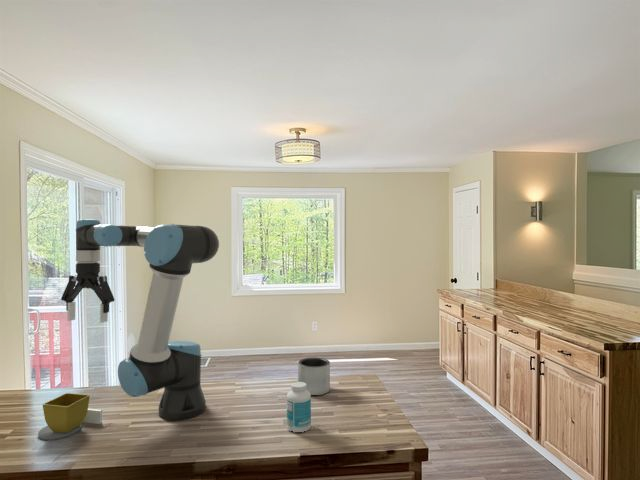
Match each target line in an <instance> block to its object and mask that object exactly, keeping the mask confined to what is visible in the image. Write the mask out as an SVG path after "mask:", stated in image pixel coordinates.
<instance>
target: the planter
mask: <svg viewBox="0 0 640 480" xmlns="http://www.w3.org/2000/svg"><path fill="white" fill-rule="evenodd" d="M330 367H331V363H330V361H329V360H328V359H326V358H324V357H323V358H322V357H305V358H301V359H300V360H299V361H298V362H297V382H304V383H306V390H307V391H309V392H310V394H311V395H319V396H323V395H325V393H326V394H327V393H329V392H330V389H331V368H330Z"/></svg>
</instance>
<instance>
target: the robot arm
mask: <svg viewBox="0 0 640 480" xmlns="http://www.w3.org/2000/svg"><path fill="white" fill-rule="evenodd" d="M101 247H140V248H142V247H143V252H145V253H144V257H145V259H146V261H147V262H148V263H149V264H148V265H149V266H148V267H149V269H150V270H151V271H152V272H153V273H152V278H151V282H150V287H149V292H148V296H147V299H146V300H147V301H146V305H145V310H144V314H143V318H142V323H141V328H140V332H139V337H138V341H137V343H136V344H135V345H133V346H132V347H131V349H130V353H129V357H128V358H124V359H123V360H121V361H120V362H119V364H118V366H117V378H118V382H119V384H120V387H121V389H122V390H123V392H124V393H125V394H127V396H129V397H132V398H137V397H140V396H141V397H142V396H146V395H148V394H150V393H153V392H154V391H158V390H161V389H163V388H164V389H163V392H162V395H161V398H160V401H159V405H158V416H159V417H160V418H162V419H164V420H169V421H171V420H172V421H173V420H175V421H178V420H186V419H190V418H193V417H196V416H199V415H200V414H202V413H203V412H204V411H205V410H206V406H207V405H206V398H205V396H204V391H203V389H202V386H201V369H202V368H201V366H202V363H201V362H202V354H201V353H202V352H201V345H200V344H198V343H197V342H195V341H194V342H193V341H187V340H184V341H183V340H174V341H173V340H172V341H170V336H171V332H172V329H173V324H174V320H175V315H176V311H177V307H178V303H179V298H180V294H181V290H182V285H183V281H184V278H185V277H186V276H188V275H189V274H190V273H191V270H192V266H193V264H203V263H205V262H208V261H211V260H212V259H213V258H214V257H215V256H216V255H217V254H218V251H219V248H220V241H219V238H218V236H217V234H216V233H215V232H214V230H213V229H211V228H210V227H207V226H203V225H188V224H187V225H186V224H175V223H169V224H159V225H156V226H155V227H152V226H146V225H124V224H123V225H122V224H121V225H118V224H113V223H111V224H110V223H104V224H101V222H100V220H99V219H87V218H86V219H84V218H83V219H78V220H77V221H76V227H75V261H76V264H75V273H76V274H73V275H69V277H68V282H67V284H66V286H65V289H64V291H63V294H62V296H61V299H60V301H62V302H63V301H64V302H65V303H66V305H65V306H66V308H65V309H66V311H67V322H71V321H74V320H75V321H76V301H75V299H76V298H77V297H78V296H79V294H80V293H81V291H82V290H83V289H91V290H92V291H93V292H94V293H95V295H96V296H97V297H98V299H99V300H100V302H101V303H100V304H99V305H100V309H99V310H100V311H99V315H100V317H99V322H100V323H105V322H108V321H109V320H108V318H109V316H108V315H109V314H108V313H109V312H110V304H111V303H112V302H115V300H116V299H115V296H114V295H113V292H112V290H111V287H110V286H109V283H108V276H107V275H101V276H100V275H99V273H100V272H101V263H100V260H101Z"/></svg>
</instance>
